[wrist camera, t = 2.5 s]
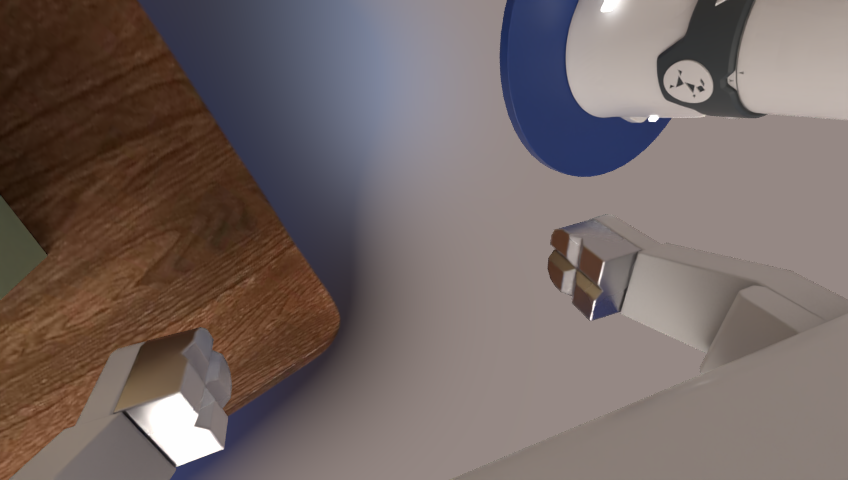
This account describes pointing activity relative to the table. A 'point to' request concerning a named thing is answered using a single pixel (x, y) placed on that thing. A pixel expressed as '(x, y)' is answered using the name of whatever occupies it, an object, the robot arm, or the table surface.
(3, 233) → the stand
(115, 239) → the table surface
